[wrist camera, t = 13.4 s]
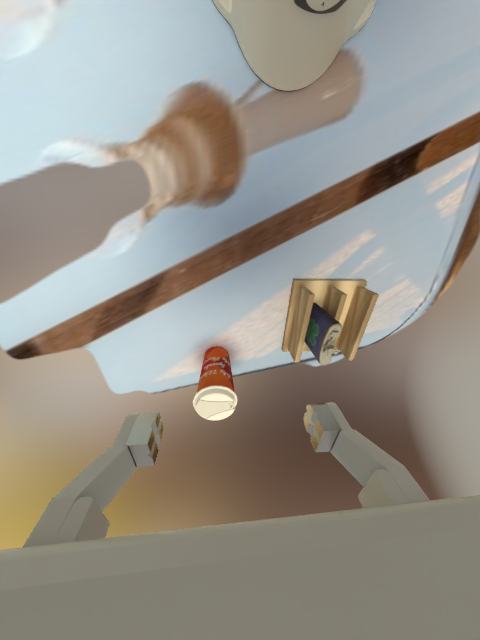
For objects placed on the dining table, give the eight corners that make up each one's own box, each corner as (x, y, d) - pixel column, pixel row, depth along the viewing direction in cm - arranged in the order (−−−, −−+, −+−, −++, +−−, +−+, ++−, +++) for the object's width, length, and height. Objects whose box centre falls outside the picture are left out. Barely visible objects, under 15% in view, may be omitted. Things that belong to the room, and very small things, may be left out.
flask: (310, 339, 44) (334, 372, 34) (297, 339, 44) (319, 372, 34) (319, 302, 40) (350, 327, 30) (306, 301, 39) (333, 327, 30)
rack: (281, 349, 46) (289, 366, 40) (293, 279, 38) (304, 289, 32) (340, 347, 47) (355, 363, 42) (363, 279, 39) (386, 289, 34)
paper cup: (230, 340, 43) (235, 388, 31) (234, 366, 47) (240, 418, 34) (196, 345, 43) (186, 395, 31) (203, 370, 47) (197, 425, 34)
